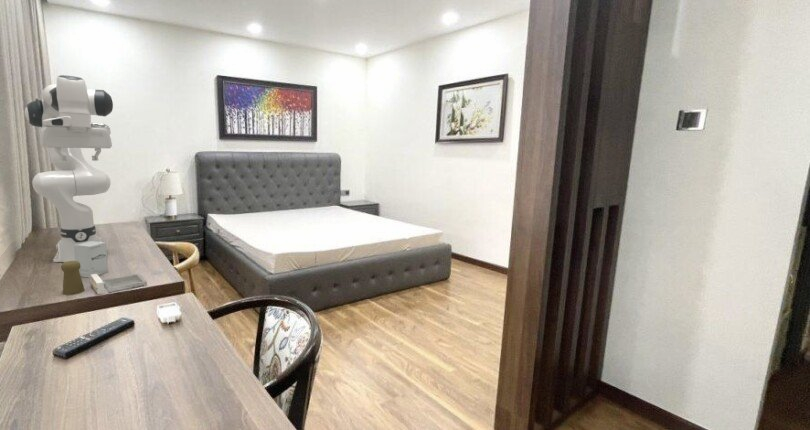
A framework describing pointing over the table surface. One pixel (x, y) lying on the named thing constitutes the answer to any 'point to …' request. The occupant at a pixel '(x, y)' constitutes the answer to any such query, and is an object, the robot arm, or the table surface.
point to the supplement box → (91, 258)
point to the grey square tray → (124, 282)
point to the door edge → (97, 283)
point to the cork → (72, 278)
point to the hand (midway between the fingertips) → (79, 160)
